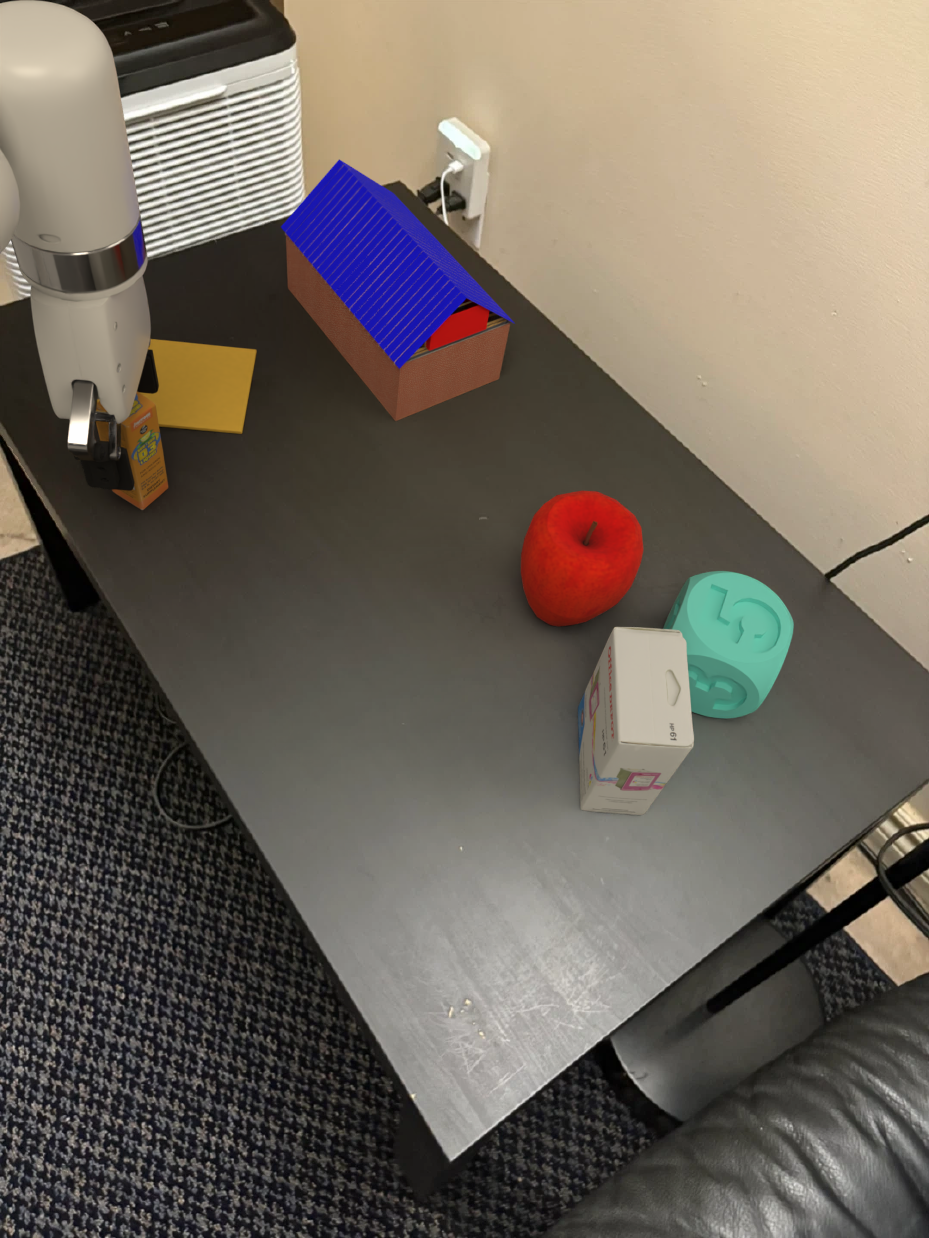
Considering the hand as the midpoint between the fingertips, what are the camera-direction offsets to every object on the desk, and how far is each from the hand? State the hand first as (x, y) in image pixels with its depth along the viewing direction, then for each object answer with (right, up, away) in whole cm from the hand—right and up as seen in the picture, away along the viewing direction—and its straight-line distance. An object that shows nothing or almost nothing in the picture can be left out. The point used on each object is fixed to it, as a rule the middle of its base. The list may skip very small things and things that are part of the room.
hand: (125, 435), depth 73 cm
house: (+19, +13, +19) cm, 30 cm away
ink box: (+36, -24, -2) cm, 43 cm away
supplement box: (-1, -3, +6) cm, 7 cm away
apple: (+33, -13, +5) cm, 36 cm away
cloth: (0, +7, +12) cm, 14 cm away
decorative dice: (+44, -18, +3) cm, 48 cm away
